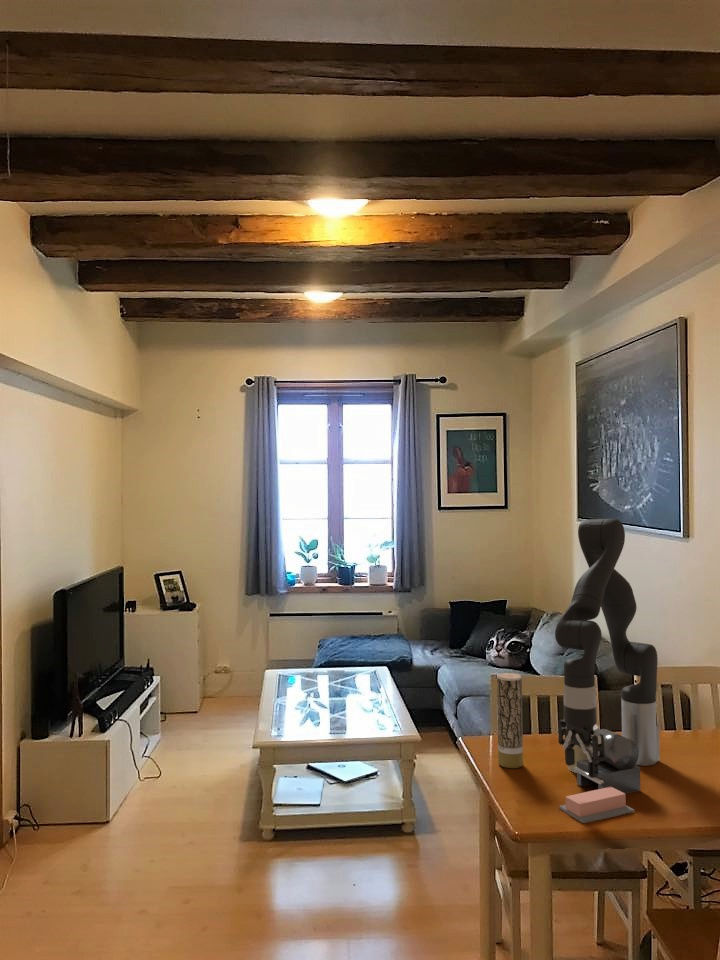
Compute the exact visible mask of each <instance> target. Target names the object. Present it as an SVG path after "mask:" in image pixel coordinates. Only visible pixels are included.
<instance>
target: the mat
mask: <svg viewBox="0 0 720 960" xmlns="http://www.w3.org/2000/svg"><path fill="white" fill-rule="evenodd" d="M558 809H559V810H561V811H562V810H563V812H564V813H566V814H567V815H568V816H570V817H572V818H574V819H575V820H577V821H578V822H580V823H582V824H587V823H590V822H596V821H600V820H605V819H609V818H613V817H618V816H622V814H623V815H627V814H626V813H628V814H631V813H630V812H633V811H634V812H635V809H634V808H631V807H630V806H628V805H626V806H624V807H620V808H616V809H612V810H608V811H603V812H599V813H595V814H591V815H586V816H582V817H579V816H577V815H575V814H573V813H572V812H570V811H568V810H567V809H566V804H563V805H559V806H558ZM634 812H633V813H634Z"/></svg>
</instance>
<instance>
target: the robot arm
mask: <svg viewBox="0 0 720 960" xmlns="http://www.w3.org/2000/svg"><path fill="white" fill-rule="evenodd" d="M577 536H578V537H577V538H578V542H579V546H580V549H581V551H582V554H583V556H584V558H585V561H586V564H587V566H588V568H587V570H586V571H585V572H584V573H583V574H582V575H581V576H580V577H579V579H578V580H577V582H576V584H575V587H574V590H573V595H572V598H571V602H570V604H569V605H568V607H567V609H566V610H565V612H564V613H563V614H562V616H561V617H560V619H559V620H558V621H557V622H558V623H557V624H556V627H555V630H554V638H555V641H556V643H557V644H558V646H559V647H561V648H564V649H570V650H579V651H583V655H582V656H579V657H572V658H568V659H566V660H565V661H564V663H563V675H564V676H563V678H564V680H563V681H564V682H563V684H564V685H563V719H560V720H558V735H557V736H558V737H557V739H558V744H559V745H562V748H563V749H564V760H565V765H566V766H567V767H568V766H570V765H574V764H575V751H574V749H573V748H574V746H575V745H578V746H579V747H581V748H582V750H583V752H584V753H585V754H586V756H587V758H588V760H589V761H588V776H589V777H591V778H594V777H597V776H598V762H599V761H604V760H605V751H604V737H603V735H602V734H600V735H596V734H595V733H594V730H593V727H594V725H595V724H596V725H597V721H598V720H597V693H596V691H597V690H596V687H595V685H596V684H595V683H596V682H595V681H596V680H595V667H596V660H597V656H598V651H599V647H600V644H601V641H602V630H601V627H600V626H599V624H598V623H597V622H596V621H593V620H594V619H596V618H597V617H598V616H599V615H600V612H601V611H602V613H603V617H604V620H605V624H606V626H607V631H608V635H609V638H610V639H609V640H610V644H611V651H612V656H613V659H614V664H615V666H616V668H617V670H618V671H619V672H620V673H622V674H625V675H629V676H636V677H640V678H639V679H640V680H639V682H638V683H636V684H630V685H626V686H624V687H623V688H622V689H621V693H620V694H621V698H620V702H621V736H623V737H625V738H628V739H630V740H632V741H634V742H635V743H636V745H637V747H638V750H639V757H638V760H637V763H636V766H644V767H645V766H646V767H647V766H653V765H656V764H657V763H658V762H660V727H659V726H657V690H658V689H657V688H658V687H657V685H658V683H657V682H658V680H657V679H658V660H659V659H658V652H657V649H656V647H655V646H654V645H652V644H650V643H642V642H635V641H630V640H629V639H628V637H627V636H628V635H627V630H628V629H629V626H630V624H631V623H632V621H633V620H634V618H635V615H636V612H637V602H636V599H635V598H636V597H635V595H634V590H633V588H632V585H631V584H630V582H629V581H628V580H627V579H626V578H625V577H624V576H623V575H622V574H621V573H620V572H619V571H618V570H616V569H615V567H616V565H617V563H618V561H619V559H620V557H621V553H622V552H623V549H624V546H625V541H626V532H625V527H624V525H623V522H622V521H621V520H619V519H618V518H590V519H584V520H582V521H580V522H579V524H578V528H577ZM590 744H591V746H592V747H590V748H587V747H588V746H590ZM598 751H600V755H598ZM590 752H592V753H593V756H592V755H591V753H590Z"/></svg>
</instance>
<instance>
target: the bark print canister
mask: <svg viewBox="0 0 720 960" xmlns="http://www.w3.org/2000/svg"><path fill="white" fill-rule="evenodd" d="M496 676H497V677H496V678H497V679H496V683H497V685H496V687H497V691H496V692H497V693H496V694H497V698H496V699H497V751H498V755H497V756H498V757H497V759H498V764H499V765H500V766H501V767H503V768H504V769H505V768H506V769H518V768H521V767H523V765H524V758H523V757H524V747H523V746H524V743H523V739H524V737H523V735H524V734H523V733H524V732H523V731H524V730H523V680H522V679H523V677H522V675H521V674H519V673H515V672H503V673H498V674H497V675H496Z"/></svg>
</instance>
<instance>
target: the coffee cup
mask: <svg viewBox="0 0 720 960" xmlns="http://www.w3.org/2000/svg"><path fill="white" fill-rule="evenodd" d="M593 730H594V733H596V732H597V731H598V730H600V728H599V726H598V724H597V723H596V724H595V725H594V727H593ZM587 748H590V746H588V747H587ZM573 749H574V751H575V764H574V765H570V766H568V765H567V768H568V771H569V772H571V771H572V772H571V773H573V772H574V773H573V774H576V773H577V772H575V771H574V767H577V761H582V760H587V759H588V758H587V756H586V754H585V753H584V752H583V750H582V748H581V747H579V746H578V745H575V746H574V748H573ZM590 753H591V752H590ZM591 755H592V753H591ZM592 756H593V755H592Z"/></svg>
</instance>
